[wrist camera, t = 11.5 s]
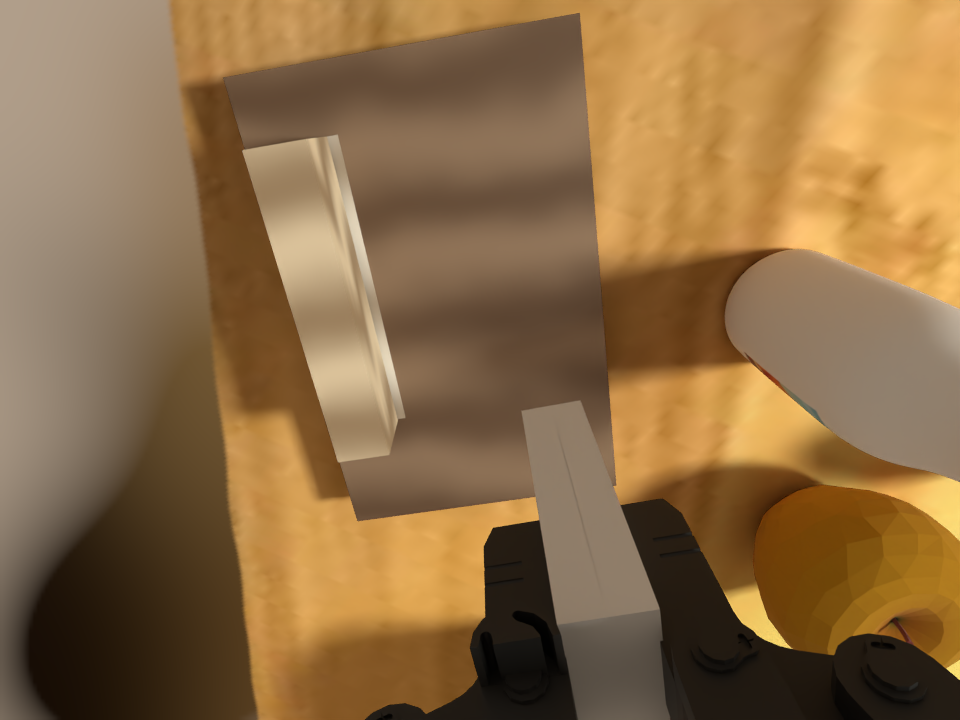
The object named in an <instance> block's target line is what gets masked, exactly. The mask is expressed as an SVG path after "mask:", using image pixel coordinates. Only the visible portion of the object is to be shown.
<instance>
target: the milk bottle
mask: <svg viewBox="0 0 960 720" xmlns="http://www.w3.org/2000/svg"><path fill="white" fill-rule="evenodd" d="M725 326H726V331H727V334H728V337H729V339H730V341H731V342H732V344H733V345H734V347H735V348H736V349H737V350H738V351H739V352H740V353H741V354H742V355H743V356H744V357H745V358H746V359H747V360H749V361H750V362H751V363H752V364H753V365H754V366H755V367H757V368H758V369H759V370H760V371H761V372H762V373H763V374H764V375H766V376H767V377H768V378H769V379H770V380H771V381H773V382H774V383H775V384H776V385H777V386H778V387H779V388H781V389H782V390H783V391H784V392H785V393H786V394H787V395H789V396H790V397H791V398H792V399H793V400H794V401H796V402H797V403H798V404H799V405H800V406H802V407H803V408H804V409H805V410H806V411H807V412H809V413H810V414H811V415H812V416H813V417H814V418H816V419H817V420H818V421H819V422H821V423H822V424H823V425H825V426H826V427H827V428H828V429H830V430H831V431H832V432H834V433H835V434H836V435H837V436H839V437H840V438H841V439H843V440H844V441H846V442H848V443H849V444H851V445H853V446H854V447H856V448H858V449H859V450H861V451H863V452H865V453H867V454H870V455H872V456H874V457H876V458H879V459H882V460H885V461H888V462H891V463H894V464H898V465H902V466H906V467H911V468H916V469H921V470H925V471H929V472H933V473H937V474H940V475H943V476H946V477H948V478H951V479H953V480H956V481H958V482H960V309H958V308H956V307H954V306H952V305H950V304H947V303H945V302H943V301H941V300H938V299H936V298H934V297H932V296H930V295H927V294H925V293H922V292H920V291H917V290H915V289H912V288H910V287H907V286H905V285H902V284H900V283H897V282H895V281H892V280H890V279H887V278H885V277H882V276H880V275H877V274H875V273H872V272H869V271H867V270H864V269H862V268H859V267H856V266H854V265H851V264H849V263H846V262H843V261H841V260H838V259H836V258H833V257H830V256H828V255H825V254H822V253H819V252H816V251H812V250H806V249H790V250H784V251H780V252H777V253H774V254H772V255H769V256H767V257H765V258H763V259H761V260H759V261H758V262H756V263H755V264H754V265H752V266H751V267H749V268H748V269H747V270H746V271H745V272H744V273H743V274H742V275H741V276H740V278H739V279H738V281H737V282H736V283H735V285H734V286H733V288H732V290H731V292H730V294H729V296H728V300H727V304H726V307H725Z"/></svg>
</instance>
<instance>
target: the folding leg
mask: <svg viewBox="0 0 960 720" xmlns="http://www.w3.org/2000/svg"><path fill="white" fill-rule="evenodd" d="M242 152H243V155H244V158H245V162H246V165H247V168H248V171H249V175H250V178H251V181H252V184H253V188H254V191H255V194H256V197H257V201H258V204H259V207H260V210H261V214H262V217H263V220H264V223H265V227H266V230H267V233H268V236H269V240H270V243H271V246H272V249H273V253H274V256H275V259H276V262H277V266H278V269H279V272H280V275H281V279H282V282H283V285H284V288H285V292H286V295H287V298H288V301H289V305H290V308H291V311H292V314H293V318H294V321H295V324H296V327H297V331H298V334H299V337H300V340H301V344H302V347H303V350H304V353H305V357H306V360H307V363H308V366H309V370H310V373H311V376H312V379H313V383H314V386H315V389H316V392H317V396H318V399H319V402H320V405H321V409H322V412H323V415H324V418H325V422H326V425H327V428H328V431H329V435H330V438H331V441H332V444H333V448H334V451H335V454H336V457H337V461H338V462H345V461H351V460H358V459H365V458H372V457H379V456H386V455H389V454H390V450H391V446H392V442H393V438H394V434H395V430H396V426H397V422H398V419H397V415H396V411H395V407H394V403H393V399H392V395H391V391H390V387H389V383H388V379H387V375H386V371H385V367H384V363H383V359H382V355H381V351H380V347H379V343H378V339H377V335H376V331H375V327H374V323H373V319H372V315H371V311H370V307H369V303H368V299H367V295H366V291H365V287H364V283H363V279H362V275H361V271H360V267H359V263H358V259H357V255H356V251H355V247H354V243H353V239H352V235H351V231H350V227H349V223H348V219H347V215H346V211H345V207H344V203H343V199H342V195H341V191H340V187H339V183H338V179H337V175H336V171H335V167H334V163H333V159H332V155H331V151H330V147H329V143H328V139H327V137H318V138H310V139H303V140H297V141H292V142H286V143H280V144H275V145H269V146H263V147H258V148H252V149H246V150H242Z"/></svg>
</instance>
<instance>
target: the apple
mask: <svg viewBox="0 0 960 720" xmlns="http://www.w3.org/2000/svg"><path fill="white" fill-rule="evenodd" d="M753 566H754V574H755V578H756V581H757V585H758V588H759V592H760V595H761V599H762V602H763V605H764V607H765V610H766V613H767V616H768V619H769V620H770V621H771V623H772V624H773V625H774V627H775V628H776V629H777V631H778V632H779V633H780V635H781V636H782V637H783V639H784V640H785V641H786V643H787V644H788V645H789V646H790V647H791V648H793V649H794V650H799V651H807V652H814V653H821V654H828V655H834V654H835V651H836V649H837V646H838V645H839V644H840V643H842V642H843V641H845V640H846V639H847V638H849V637H850V636H856V635H861V634H867V633H870V634H878V635H886V636H891V637H894V638H897V639H899V640H902V641H905V642H907V643H910V644H912V645H914V646H916V647H917V648H919V649H920V650H922V651H923V652H925V653H926V654H928V655H929V656H931V657H932V658H934V659H935V660H936V661H937V662H939V663H940V664H941V665H942V666H943V667H945V668H947V667H949V666H951V665H952V664H954V663H955V662H957V661H958V660H960V541H959V540H958V539H957V538H956V537H955V536H954V535H953V534H952V533H951V532H950V531H948V530H947V529H946V528H945V527H943V526H942V525H941V524H939V523H938V522H937V521H936V520H934V519H933V518H932V517H930V516H929V515H928V514H926V513H925V512H923V511H921V510H920V509H918V508H916V507H914V506H913V505H911V504H909V503H907V502H904V501H902V500H899V499H896V498H894V497H891V496H889V495H885V494H881V493H877V492H873V491H869V490H861V489H853V488H845V487H837V486H829V485H819V486H813V487H808V488H805V489H801V490H798V491H796V492H794V493H793V494H791V495H789V496H787V497H785V498H784V499H782V500H781V501H779V502H778V503H777V504H775V505H774V506H773V507H771V508H770V509H769V510H768V511H767V512H765V514H764V516H763V518H762V520H761V522H760V525H759V528H758V530H757V533H756V536H755V545H754V554H753Z"/></svg>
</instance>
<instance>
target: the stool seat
mask: <svg viewBox="0 0 960 720" xmlns="http://www.w3.org/2000/svg"><path fill="white" fill-rule="evenodd" d="M223 79H224V82H225V86H226V89H227V92H228V96H229V99H230V102H231V105H232V109H233V112H234V115H235V119H236V122H237V125H238V129H239V132H240V135H241V138H242V142H243V145H244V148H245V150H246V149H252V148H258V147H263V146H269V145H275V144H280V143H286V142H292V141H297V140H303V139H310V138H318V137H327V139H328V143H329V147H330V151H331V155H332V159H333V163H334V167H335V171H336V175H337V179H338V183H339V187H340V191H341V195H342V199H343V203H344V207H345V211H346V215H347V219H348V223H349V227H350V231H351V235H352V239H353V243H354V247H355V251H356V255H357V259H358V263H359V267H360V271H361V275H362V279H363V283H364V287H365V291H366V295H367V299H368V303H369V307H370V311H371V315H372V319H373V323H374V327H375V331H376V335H377V339H378V343H379V347H380V351H381V355H382V359H383V363H384V367H385V371H386V375H387V379H388V383H389V387H390V391H391V395H392V399H393V403H394V407H395V411H396V415H397V419H398V422H397V426H396V430H395V434H394V438H393V442H392V446H391V450H390V454H389V455H386V456H379V457H372V458H365V459H358V460H351V461H345V462H340V465H341V468H342V472H343V475H344V478H345V481H346V485H347V488H348V491H349V495H350V498H351V501H352V505H353V508H354V511H355V514H356V518H357V521H363V520H370V519H377V518H385V517H392V516H399V515H406V514H414V513H421V512H428V511H435V510H443V509H450V508H457V507H464V506H472V505H479V504H486V503H493V502H501V501H508V500H515V499H523V498H530V497H536V496H535V490H534V484H533V478H532V472H531V466H530V460H529V453H528V447H527V441H526V435H525V429H524V423H523V417H522V411H523V410H529V409H534V408H540V407H546V406H551V405H557V404H563V403H568V402H574V401H581V403H582V406H583V409H584V411H585V414H586V417H587V419H588V422H589V424H590V427H591V430H592V432H593V435H594V438H595V440H596V443H597V445H598V448H599V451H600V453H601V456H602V459H603V461H604V464H605V466H606V469H607V472H608V474H609V477H610V480H611V482H612V485H613V486H616V475H615V463H614V450H613V437H612V424H611V411H610V398H609V385H608V372H607V359H606V346H605V333H604V320H603V308H602V295H601V282H600V269H599V256H598V243H597V230H596V217H595V204H594V191H593V178H592V165H591V153H590V140H589V127H588V114H587V101H586V88H585V75H584V62H583V49H582V36H581V23H580V13H577V14H571V15H566V16H560V17H555V18H549V19H544V20H538V21H533V22H527V23H522V24H516V25H511V26H505V27H500V28H494V29H489V30H483V31H478V32H472V33H467V34H461V35H455V36H450V37H444V38H439V39H433V40H428V41H422V42H417V43H411V44H406V45H400V46H395V47H389V48H384V49H378V50H373V51H367V52H362V53H356V54H351V55H345V56H340V57H334V58H329V59H323V60H318V61H312V62H307V63H301V64H296V65H290V66H285V67H279V68H274V69H268V70H262V71H257V72H251V73H246V74H240V75H235V76H229V77H224V78H223Z"/></svg>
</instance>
